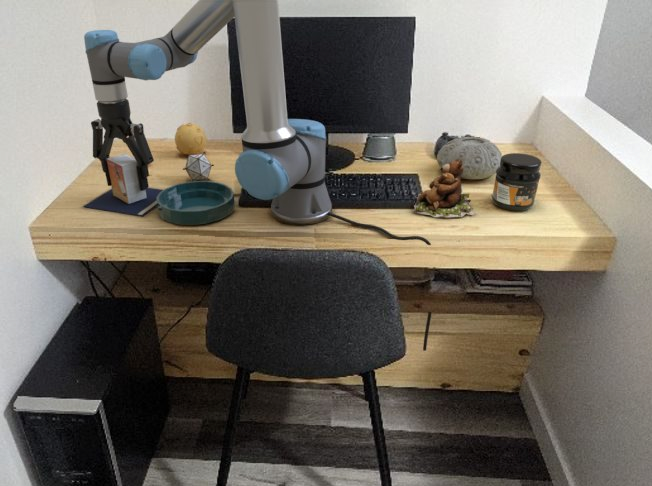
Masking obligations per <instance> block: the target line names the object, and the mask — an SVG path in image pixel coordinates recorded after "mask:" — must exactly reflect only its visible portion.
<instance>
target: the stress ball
mask: <svg viewBox="0 0 652 486" xmlns="http://www.w3.org/2000/svg"><path fill="white" fill-rule="evenodd" d="M174 143H175V146H176V149H177V151H178V152H180V154H183V155H186V156H187V154H189V155H197V154H201V152H203V150H204V149H205V148H206V146H207V135H206V133H205V131H204V130H203V128H202V127H201V126H199V125H197V124H195V123H191V122H188V123H182V124H181V125H180V126H178V127H177V129H176V132H175V134H174Z"/></svg>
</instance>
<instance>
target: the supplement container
mask: <svg viewBox="0 0 652 486" xmlns="http://www.w3.org/2000/svg"><path fill="white" fill-rule="evenodd" d="M541 167H542V160H541V158H539V157H537V156H534V155H531V154H528V153H520V152H511V153H506V154H502V157H501V160H500V167H498V169H497V170H496V173H495V179H494V184H493V189H492V194H491V201H492V203H493V204H494V205H495V206H497V207H498V208H501V209H503V210H507V211H511V212H513V211H514V212H522V211H527V210H530V209H531V208H533V206H534V204H535V202H536V196H537V193H538V188H539V187H538V186H539V184H540V183H539V182H540V180H541V177H542V174H541V172H540V170H541Z"/></svg>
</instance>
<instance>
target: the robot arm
mask: <svg viewBox="0 0 652 486" xmlns="http://www.w3.org/2000/svg"><path fill="white" fill-rule="evenodd" d="M279 7H280V5H279V0H198V1H197V2H196V3H194V5H193V6H192V7H191V8H190V9H189V10H188V11H187V12H186V13H185V14H184V15H183V16H182V17H181V19H179V20H178V22H176V24H175V25H174V26H173V27H172V28H171V29H170V30H169V31H168V32H166V34H165V35H163V36H160V37H156V38H151V39H147V40H143V41H142V40H141V41H137V42H126V41H125V42H124V41H120V38H119V36H118V33H117V32H116V31H115V30H112V29H96V30H90V31H87V32H85V33H84V36H83V40H84V47H85V54H86V59H87V63H88V68H89V72H90V77H91V82H92V88H93V92H94V98H95V100H96V101H97V102H96V107H97V112H98V116H99V118H100V119H99V118H97V119H95V120H92V121H91V122H90V126H91V129H92V158H94V159H98V160H99V161H100V163H101V168H102V172H103V173H104V174H105V178H106V184H107V186H108V187H112V186H111V181H110V175H109V170H108V165H107V160H106V159H108V158H111V156H110V154H111V151H112V147H113V145H114V140H115V139H119V140H122V142H123V144H124V143H125V144H126V146H127V148H128V149H129V151H130V153H131V154H132V157H133V158H135V159H136V161H137V163H138V164H139V165H138V166H136V168H137V173H138V179H139V185H140V190H141V191H143V190H145V189H146V188H150V187H149V181H148V177H149V176H150V173H149V166H148V165H150V164H152V163H154V162H155V161H154V160H155V159H154V156H153V154H152V151H151V148H150V145H149V143H148V140H147V137H146V134H145V132H144V124H143V123H133V121H132V120H131V113H132V112H131V107H130V106H131V105H130V101H129V99H128V95H129V94H128V90H127V84H126V78H129V79H137V80H141V81H157V80H159V79H161V78H162V77H163V75H164V74H165V73H166V72H169V71H172V70H176V69H181V68H185V67H187V66H189V65H191V64H193V63H194V62H195V61H196V60H197V57H198V54H199V51H200V50H201V49H202V48H203V47H204V46H205V45H207V44H208V43H209V42H210V41H211V40H212V39H213V38H214V37H215V36H216V35H217V34H218V33H219V32H221V30H222V29H223V28H224V27H225V26H227V25H228V23H230V22H231V21H232V20H233V19H234V24H235V33H236V41H237V49H238V50H237V51H238V59H239V67H240V74H241V75H240V76H241V84H242V92H243V100H244V101H243V102H244V110H245V117H246V118H245V119H246V128H245V130H244V131H243V132H242V133H241V135H240V137H241V139H240V140H241V145H242V152H241V153H240V154H239V155H238V157H237V158H236V160H235V162H234V163H235V164H234V173H235V177H236V180H237V182H238V183H239V185H240V186H241V188H242V189H243V190H245V191H246V192H247V193H248V194H249V196H252V197H253V198H256V199H258V200H262V201H263V200H264V201H270V200H272V201H271V204H270V212H271V213H270V214H271V216H272V217H273V218H274V219H275V220H277V221H278V222H281V223H284V224H287V225H295V226H308V225H313V224H314V225H315V224H318V223H322V222H323V221H326V220H328V218H330V217H332V218H335V219H337V220H340V221H343V222H346V223H348V224H350V225H353V226H356V227H360V228H367V229H372V230H375V231H376V230H377V231H379V232H381V233H383V234H385V236H387V237H389V238H390V239H393V240H397V241H410V240H419V241H422V242H424V243H425V245H427V246H432V244H431V242H430V241H429V240H428V239H427V238H425V237H423V236H418V235H411V236H410V235H409V236H398V235H395V234H392V233H391V232H389V231H388V230H386V229H385V228H382V227H380V226H376V225H373V224H367V223H362V222H357V221H354V220H351V219H348V218H346V217H343V216H341V215H338V214H336V213H333V212H332V211H333V204H332V201H331V198H330V194H329V191H328V189H327V186H326V146H327V145H326V144H327V143H326V142H327V137H326V127H325V125H324V124H323V123H321V122H319V121H316V120H312V119H304V118H288V110H287V109H288V108H287V98H286V95H287V94H286V82H285V72H284V71H285V69H284V57H283V47H282V46H283V44H282V32H281V19H280V8H279ZM131 129H132V130H133V131H131ZM132 132H133V133H134V134H133V133H132ZM127 136H129V137H128V138H127ZM135 139H136V140H135ZM432 314H433V313H432V311H428V313H427V318H426V324H425V331H424V337H423V346H422V351H424V352H427V345H428V338H429V332H430V326H431V325H430V324H431V320H432Z"/></svg>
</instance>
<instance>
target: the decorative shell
mask: <svg viewBox="0 0 652 486" xmlns="http://www.w3.org/2000/svg"><path fill="white" fill-rule="evenodd" d="M437 152H438V153H437V155H436V162H437V164H438V166H439V167H440V168H441V167H442V166H443V165H445V164H449V163H451V162H453V161H456V160H457V159H459V160H460V161H462V162H463V165H462V166H463V172H462V174H461V175H460V178H461V179H462V180H464V179H465V180H482V179H487V178H491V176H493V175H496V170H497V169H498V167H500V160H501V157H502V156H503V153H502V151H500V148H499V147H498V146H497V145H496V143H494V142H492V141H491V140H489V139H486V138H484V137H481V136H479V137H478V136H477V137H475V136H473V137H472V136H468V135H467V136H461V137H458V138H457V137H455V138H454V139H452V140H449V141H448V142H446V143H445V144H443V145H442V146H441V147H440V150H438V151H437ZM460 161H459V162H460Z"/></svg>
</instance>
